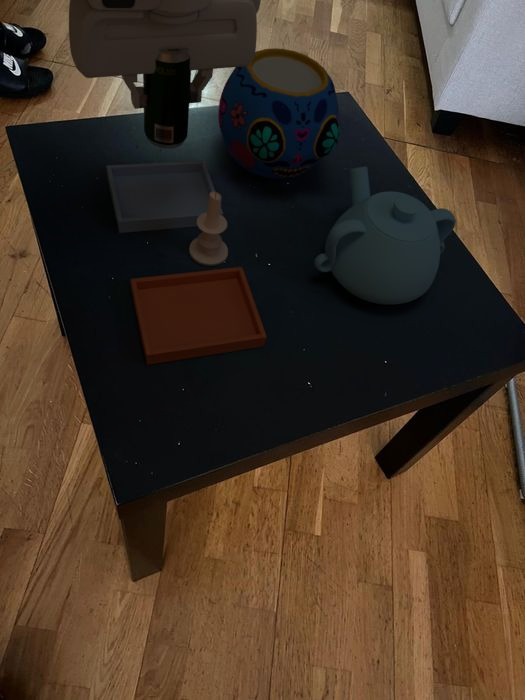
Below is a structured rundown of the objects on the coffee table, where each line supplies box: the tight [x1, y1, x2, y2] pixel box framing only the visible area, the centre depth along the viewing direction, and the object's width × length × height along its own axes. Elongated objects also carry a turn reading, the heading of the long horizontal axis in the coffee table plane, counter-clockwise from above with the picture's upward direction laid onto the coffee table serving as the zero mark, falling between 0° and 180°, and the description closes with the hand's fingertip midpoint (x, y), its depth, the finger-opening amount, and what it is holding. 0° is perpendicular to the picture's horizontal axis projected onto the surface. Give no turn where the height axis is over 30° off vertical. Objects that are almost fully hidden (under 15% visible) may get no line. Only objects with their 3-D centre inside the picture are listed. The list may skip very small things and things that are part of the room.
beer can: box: [142, 48, 192, 150], centre depth 63 cm, size 5×5×12 cm
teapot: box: [314, 165, 457, 306], centre depth 72 cm, size 20×20×13 cm
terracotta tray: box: [130, 266, 267, 366], centre depth 65 cm, size 14×11×2 cm
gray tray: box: [105, 160, 224, 234], centre depth 76 cm, size 14×11×2 cm
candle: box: [188, 191, 229, 267], centre depth 68 cm, size 5×5×10 cm
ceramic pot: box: [217, 47, 341, 180], centre depth 79 cm, size 18×18×15 cm
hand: (166, 103), depth 64 cm, fingers closed on beer can, 5 cm apart
